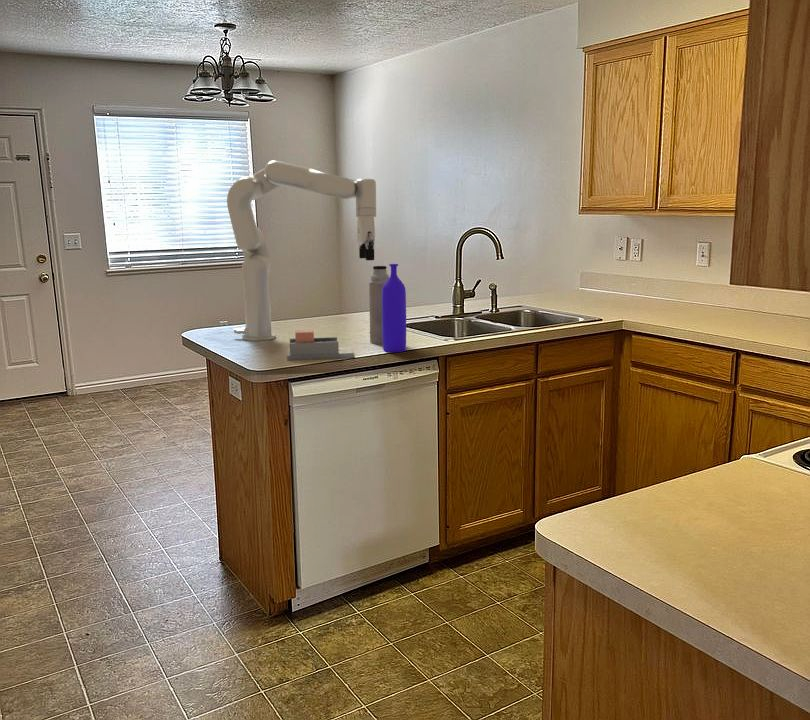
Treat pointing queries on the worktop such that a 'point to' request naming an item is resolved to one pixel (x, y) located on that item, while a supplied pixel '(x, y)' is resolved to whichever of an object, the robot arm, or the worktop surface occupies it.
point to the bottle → (394, 313)
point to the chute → (318, 349)
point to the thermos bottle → (376, 303)
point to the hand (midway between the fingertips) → (366, 259)
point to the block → (304, 336)
